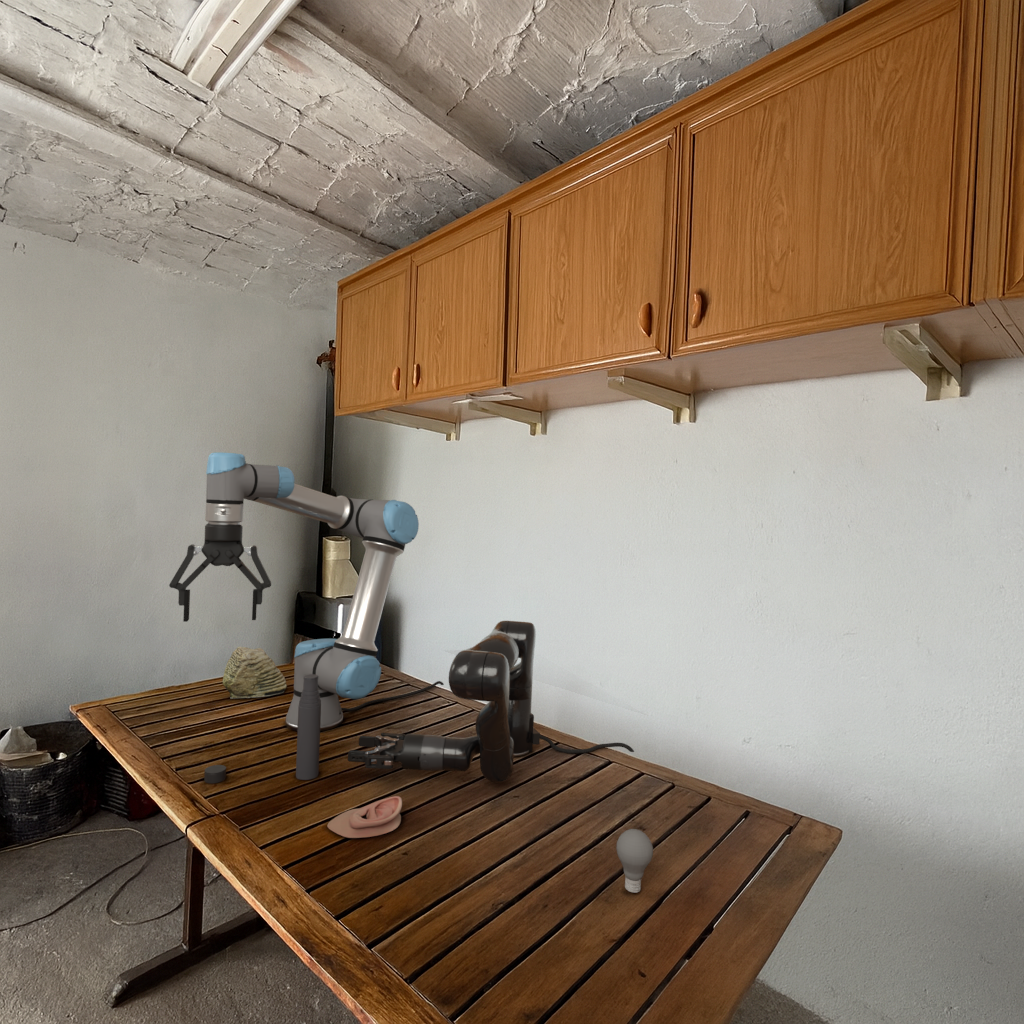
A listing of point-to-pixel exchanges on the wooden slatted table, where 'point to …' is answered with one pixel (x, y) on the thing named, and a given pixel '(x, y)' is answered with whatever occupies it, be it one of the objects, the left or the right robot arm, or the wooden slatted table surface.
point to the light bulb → (634, 857)
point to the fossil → (252, 674)
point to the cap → (215, 774)
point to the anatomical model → (369, 819)
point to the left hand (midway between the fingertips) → (220, 619)
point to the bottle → (308, 730)
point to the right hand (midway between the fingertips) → (354, 748)
